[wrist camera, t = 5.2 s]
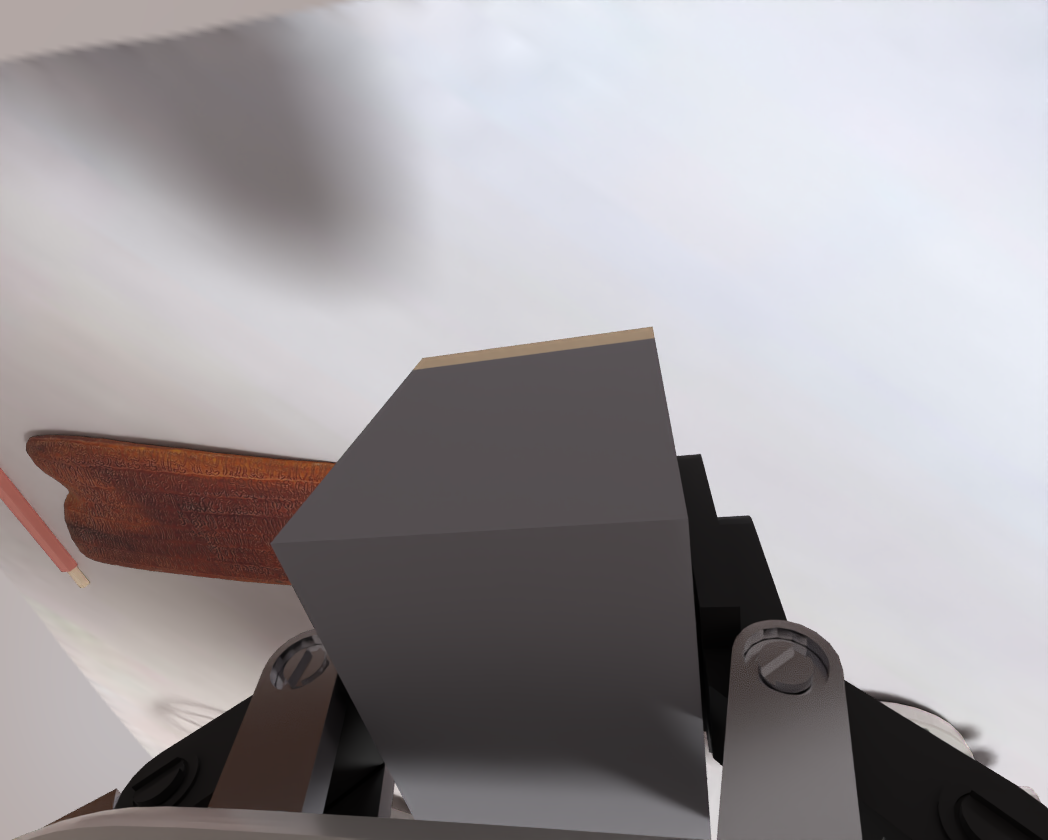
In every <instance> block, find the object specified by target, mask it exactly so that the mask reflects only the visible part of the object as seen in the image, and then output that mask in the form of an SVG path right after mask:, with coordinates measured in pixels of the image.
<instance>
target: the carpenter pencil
mask: <svg viewBox="0 0 1048 840" xmlns="http://www.w3.org/2000/svg"><path fill="white" fill-rule="evenodd" d="M0 498H1V499H2V500H3V502H4V503H5V504H6V505H7V507H8V508H9V509H10V510H11V511H12V513H13V514H14V515H15V516H16V517H17V519H18V520H19V521H20V522H21V523H22V525H23V526H24V527H25V528H26V529H27V531H28V532H29V533H30V534H31V535H32V537H33V538H34V539H35V540H36V542H37V543H38V544H39V545H40V546H41V548H42V549H43V550H44V551H45V552H46V554H47V555H48V556H49V557H50V558H51V560H52V561H53V562H54V563H55V564H56V566H57V567H58V568H59V569H60V570H61V572H68V574H69V575H70V576H71V577H72V579H73V580H74V581H75V582H76V583H77V585H78V586H79V587H80V588H85V587H86V586H87V585H88V584H89V583H90V582H89V581H88V580H87V579H86V578H85V576H84V575H83V574H82V573H81V571H80V570H79V569H78V568H77V565H78V564H77V563H76V562H75V560H74V559H73V558H72V557H71V555H70V554H69V553H68V552H67V550H66V549H65V548H64V547H63V545H62V544H61V543H60V542H59V541H58V539H57V538H56V537H55V536H54V534H53V533H52V532H51V531H50V529H49V528H48V527H47V526H46V524H45V523H44V522H43V521H42V519H41V518H40V517H39V516H38V514H37V513H36V512H35V511H34V509H33V508H32V507H31V506H30V504H29V503H28V502H27V501H26V499H25V498H24V497H23V496H22V494H21V493H20V492H19V491H18V489H17V488H16V487H15V486H14V484H13V483H12V482H11V481H10V479H9V478H8V477H7V476H6V474H5V473H4V472H3V471H2V469H1V468H0Z"/></svg>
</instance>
